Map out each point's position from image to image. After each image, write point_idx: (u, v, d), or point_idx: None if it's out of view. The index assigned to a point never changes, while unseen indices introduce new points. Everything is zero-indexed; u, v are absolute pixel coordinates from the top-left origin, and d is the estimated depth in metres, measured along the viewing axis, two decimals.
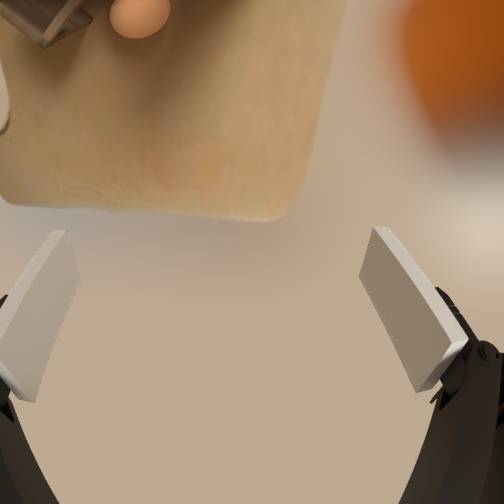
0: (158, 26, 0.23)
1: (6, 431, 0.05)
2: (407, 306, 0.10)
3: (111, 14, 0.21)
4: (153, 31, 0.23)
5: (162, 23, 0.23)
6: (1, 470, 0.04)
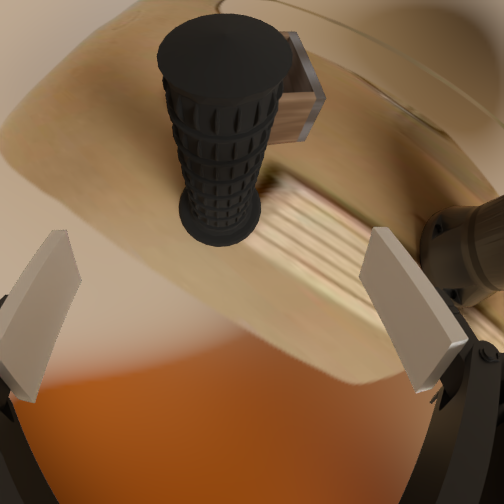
0: None
1: (6, 431, 0.05)
2: (407, 306, 0.10)
3: None
4: None
5: None
6: (2, 471, 0.04)
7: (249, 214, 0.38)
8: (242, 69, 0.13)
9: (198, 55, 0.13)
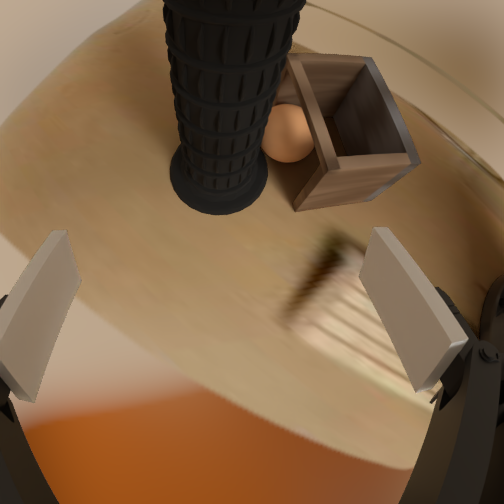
0: (298, 110, 0.27)
1: (6, 431, 0.05)
2: (407, 306, 0.10)
3: None
4: (295, 107, 0.28)
5: (295, 113, 0.27)
6: (2, 471, 0.04)
7: (254, 177, 0.31)
8: None
9: None
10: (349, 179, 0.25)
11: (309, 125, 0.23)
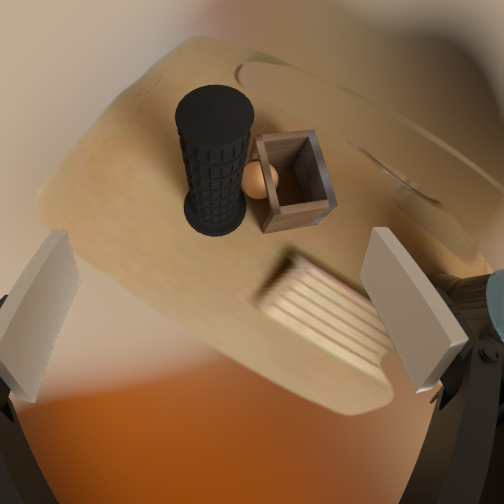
0: None
1: (6, 431, 0.05)
2: (407, 306, 0.10)
3: None
4: None
5: None
6: (2, 471, 0.04)
7: (237, 212, 0.50)
8: (224, 128, 0.25)
9: (199, 119, 0.25)
10: (290, 217, 0.43)
11: (265, 186, 0.42)
